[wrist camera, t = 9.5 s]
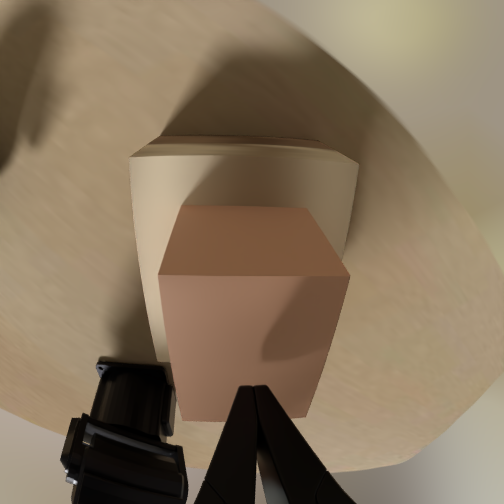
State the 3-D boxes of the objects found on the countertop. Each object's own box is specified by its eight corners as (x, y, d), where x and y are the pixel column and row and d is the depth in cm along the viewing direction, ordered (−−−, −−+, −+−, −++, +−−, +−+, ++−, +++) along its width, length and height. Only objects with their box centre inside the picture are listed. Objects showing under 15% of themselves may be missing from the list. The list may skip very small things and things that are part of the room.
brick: (189, 337, 15) (182, 420, 11) (181, 205, 12) (157, 274, 8) (286, 336, 16) (305, 417, 11) (307, 208, 12) (350, 275, 8)
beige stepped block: (170, 297, 21) (157, 361, 16) (159, 136, 16) (129, 157, 11) (297, 297, 22) (317, 359, 17) (318, 140, 17) (359, 164, 12)
